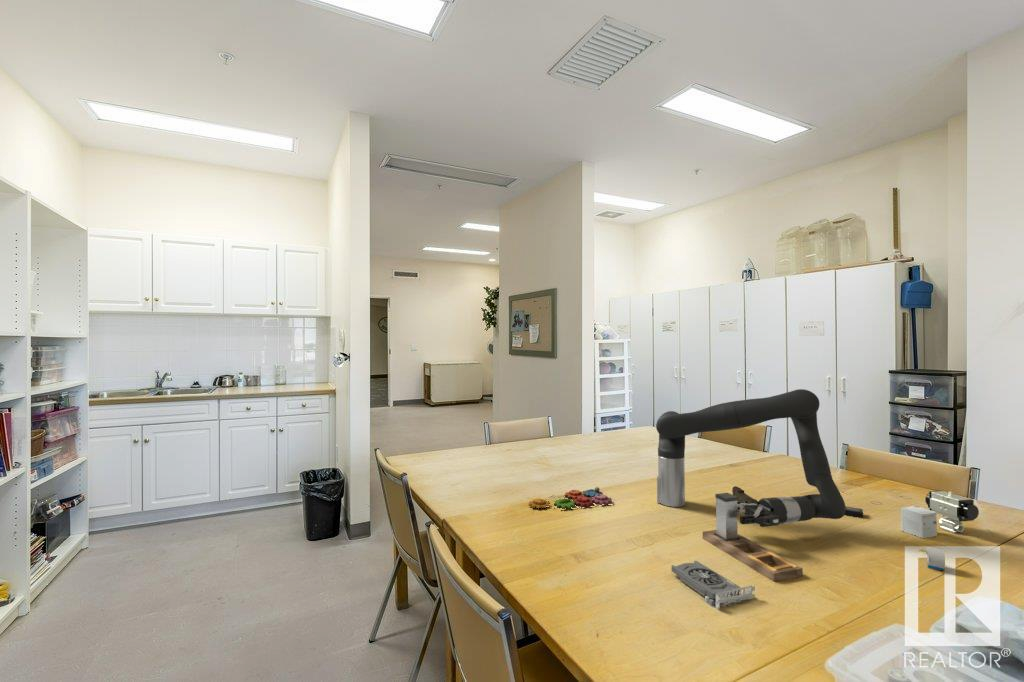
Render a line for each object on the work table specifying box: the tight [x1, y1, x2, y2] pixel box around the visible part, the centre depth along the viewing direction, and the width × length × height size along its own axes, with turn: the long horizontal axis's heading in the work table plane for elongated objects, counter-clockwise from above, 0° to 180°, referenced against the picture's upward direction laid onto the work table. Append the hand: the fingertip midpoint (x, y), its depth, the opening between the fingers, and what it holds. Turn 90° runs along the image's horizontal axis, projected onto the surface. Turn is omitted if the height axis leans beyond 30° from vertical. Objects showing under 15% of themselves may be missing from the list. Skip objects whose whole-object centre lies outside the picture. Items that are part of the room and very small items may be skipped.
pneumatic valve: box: [924, 490, 980, 534], centre depth 141 cm, size 6×12×12 cm, turn 9°
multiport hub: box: [844, 505, 864, 519], centre depth 157 cm, size 4×14×2 cm, turn 56°
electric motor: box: [918, 546, 946, 571], centre depth 119 cm, size 7×5×5 cm
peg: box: [714, 492, 739, 541], centre depth 134 cm, size 4×4×14 cm
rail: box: [702, 529, 804, 582], centre depth 126 cm, size 26×9×2 cm, turn 16°
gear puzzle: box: [528, 486, 615, 510], centre depth 170 cm, size 31×16×4 cm, turn 105°
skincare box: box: [900, 505, 938, 539], centre depth 139 cm, size 6×6×7 cm
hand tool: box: [731, 486, 759, 504], centre depth 165 cm, size 19×4×5 cm, turn 179°
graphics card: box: [671, 560, 756, 611], centre depth 110 cm, size 17×4×12 cm
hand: (730, 514), depth 134 cm, fingers open, 8 cm apart
